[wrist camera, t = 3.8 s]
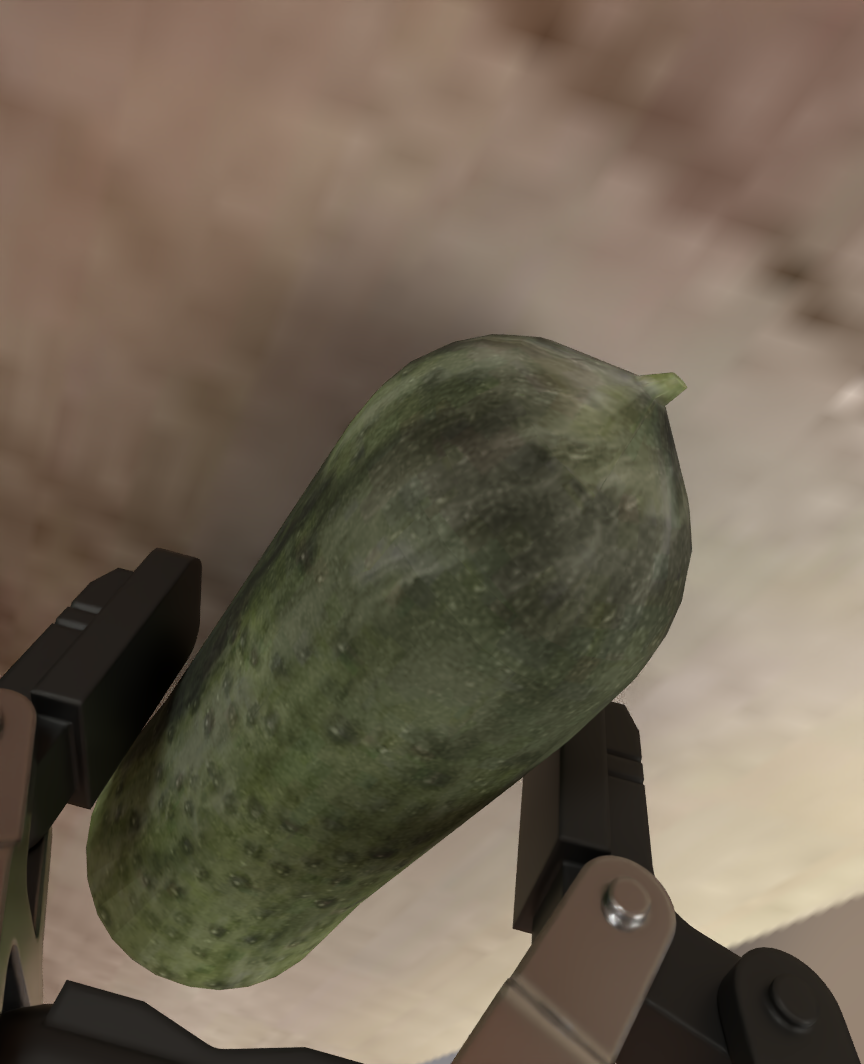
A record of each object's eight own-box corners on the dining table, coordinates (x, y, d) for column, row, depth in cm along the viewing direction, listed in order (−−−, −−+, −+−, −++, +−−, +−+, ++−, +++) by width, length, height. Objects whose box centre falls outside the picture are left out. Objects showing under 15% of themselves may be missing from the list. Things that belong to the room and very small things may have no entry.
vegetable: (327, 837, 18) (252, 1073, 14) (135, 733, 17) (-8, 952, 13) (782, 410, 11) (916, 634, 6) (489, 186, 10) (426, 278, 5)
